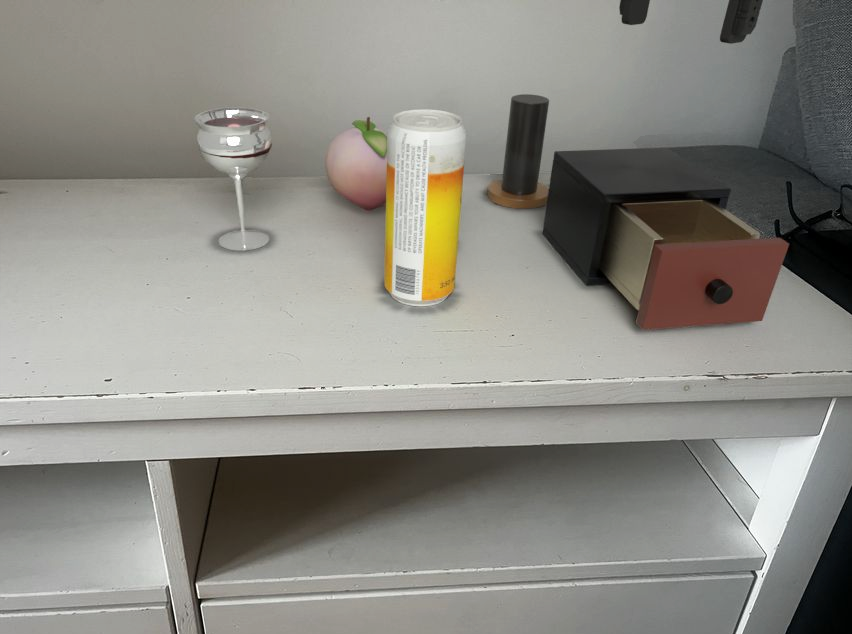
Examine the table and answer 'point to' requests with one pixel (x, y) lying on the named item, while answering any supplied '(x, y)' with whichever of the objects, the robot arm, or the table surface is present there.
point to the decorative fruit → (359, 164)
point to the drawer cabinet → (613, 196)
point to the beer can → (423, 205)
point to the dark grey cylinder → (524, 144)
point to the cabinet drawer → (689, 263)
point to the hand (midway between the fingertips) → (679, 32)
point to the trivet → (517, 196)
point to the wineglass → (235, 158)
